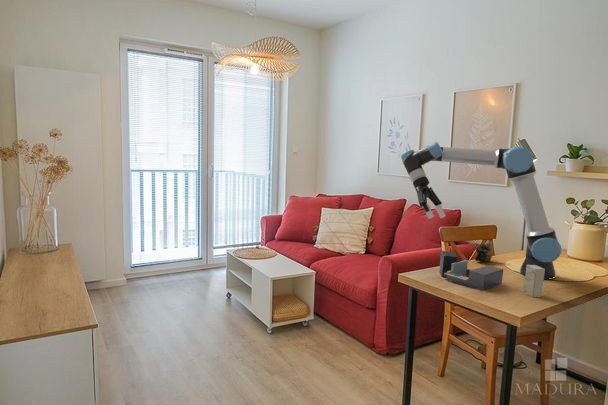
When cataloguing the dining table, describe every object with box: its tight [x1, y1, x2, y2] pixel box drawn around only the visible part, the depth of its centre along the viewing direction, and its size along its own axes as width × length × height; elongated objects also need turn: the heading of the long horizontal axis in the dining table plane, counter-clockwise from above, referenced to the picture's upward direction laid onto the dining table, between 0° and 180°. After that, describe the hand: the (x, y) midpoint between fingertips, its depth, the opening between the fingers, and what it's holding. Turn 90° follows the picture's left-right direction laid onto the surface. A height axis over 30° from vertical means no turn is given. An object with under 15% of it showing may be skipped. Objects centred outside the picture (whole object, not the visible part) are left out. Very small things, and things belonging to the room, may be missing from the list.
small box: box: [438, 250, 458, 278], centre depth 197 cm, size 11×6×10 cm, turn 168°
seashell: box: [474, 242, 493, 263], centre depth 225 cm, size 11×11×10 cm
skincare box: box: [522, 265, 545, 298], centre depth 171 cm, size 6×4×12 cm
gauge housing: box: [444, 265, 504, 291], centre depth 186 cm, size 18×18×7 cm
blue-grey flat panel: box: [447, 259, 469, 276], centre depth 191 cm, size 1×16×7 cm, turn 128°
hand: (437, 217), depth 198 cm, fingers open, 13 cm apart
